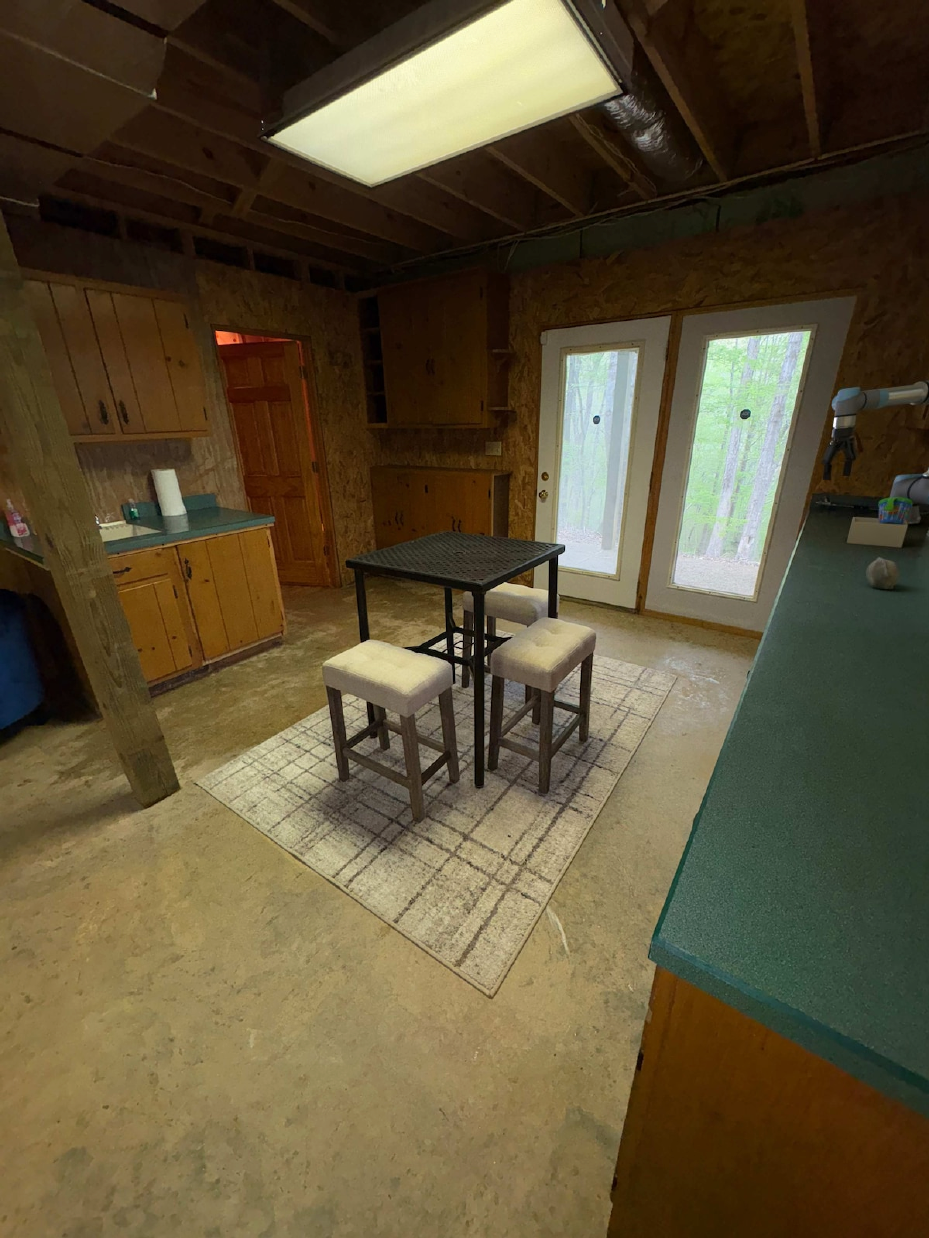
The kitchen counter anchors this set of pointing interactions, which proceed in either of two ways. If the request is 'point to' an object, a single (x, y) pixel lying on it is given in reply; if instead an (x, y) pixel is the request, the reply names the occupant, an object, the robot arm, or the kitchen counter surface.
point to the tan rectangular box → (876, 532)
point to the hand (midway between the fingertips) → (836, 478)
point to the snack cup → (894, 510)
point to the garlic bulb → (882, 574)
